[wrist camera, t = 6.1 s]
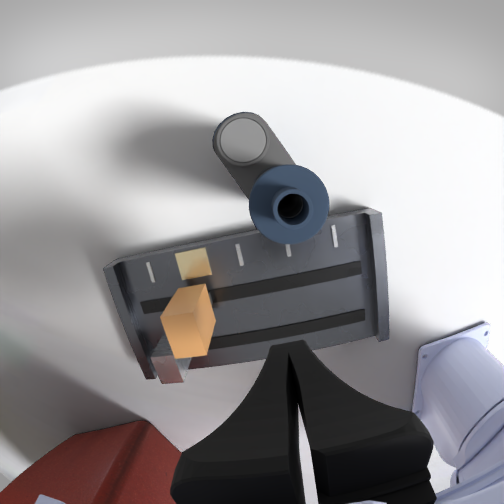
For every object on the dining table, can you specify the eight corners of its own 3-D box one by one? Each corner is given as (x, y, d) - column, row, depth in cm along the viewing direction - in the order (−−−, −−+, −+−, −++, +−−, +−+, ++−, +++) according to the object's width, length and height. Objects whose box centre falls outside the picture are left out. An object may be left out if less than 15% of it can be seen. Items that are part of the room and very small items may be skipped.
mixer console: (379, 325, 22) (398, 353, 18) (153, 364, 23) (138, 394, 20) (370, 208, 20) (393, 217, 16) (115, 259, 21) (89, 278, 17)
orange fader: (217, 314, 21) (206, 355, 16) (191, 318, 21) (175, 359, 16) (207, 278, 20) (192, 312, 15) (181, 283, 20) (159, 317, 15)
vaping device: (266, 211, 20) (278, 275, 8) (219, 144, 19) (164, 114, 7) (300, 189, 20) (358, 222, 8) (253, 121, 19) (246, 58, 7)
